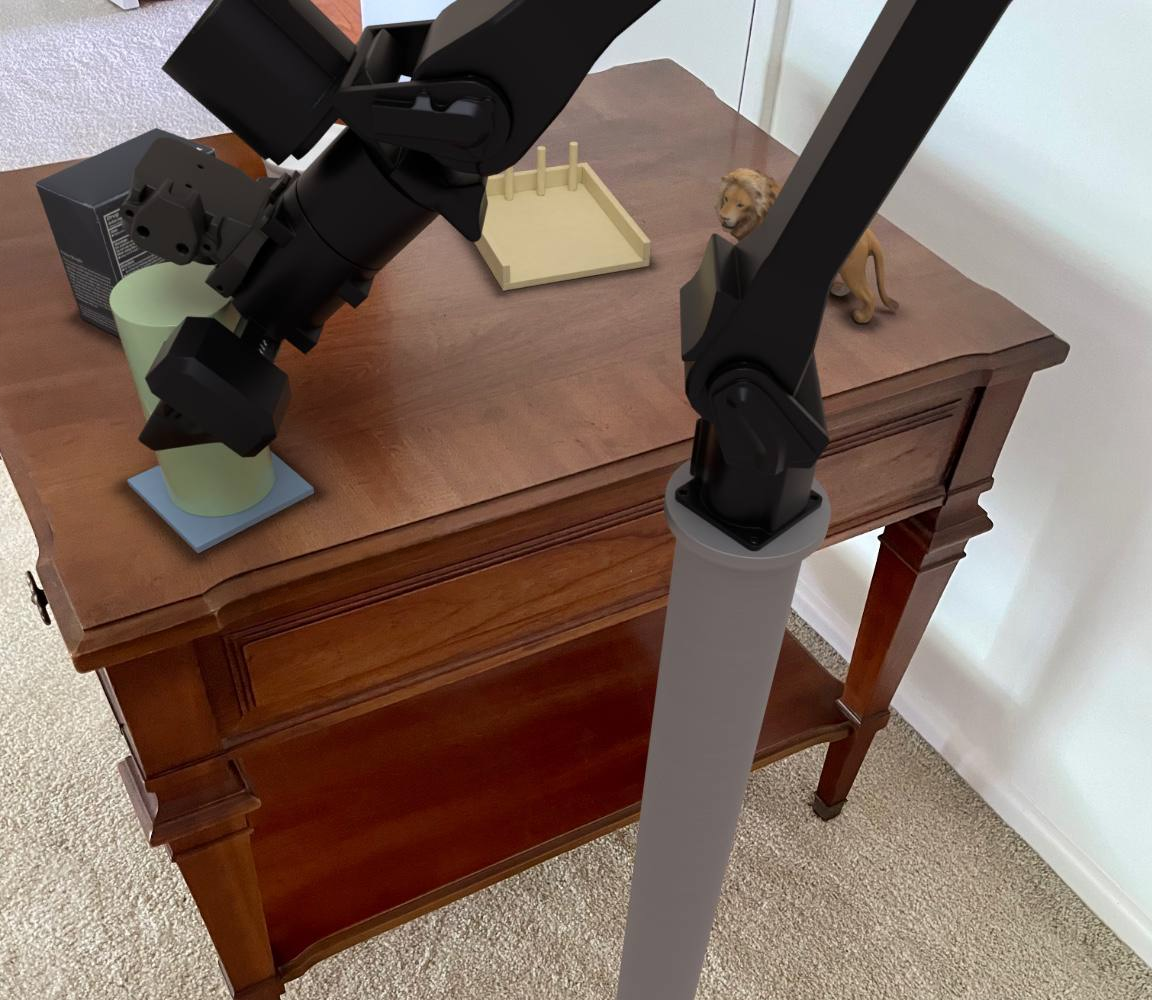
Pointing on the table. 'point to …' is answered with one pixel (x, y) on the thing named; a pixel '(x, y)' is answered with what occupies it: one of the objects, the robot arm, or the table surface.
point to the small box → (99, 223)
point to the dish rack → (556, 226)
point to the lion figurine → (749, 204)
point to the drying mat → (217, 529)
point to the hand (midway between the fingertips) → (172, 392)
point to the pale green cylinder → (144, 321)
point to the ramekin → (303, 163)
